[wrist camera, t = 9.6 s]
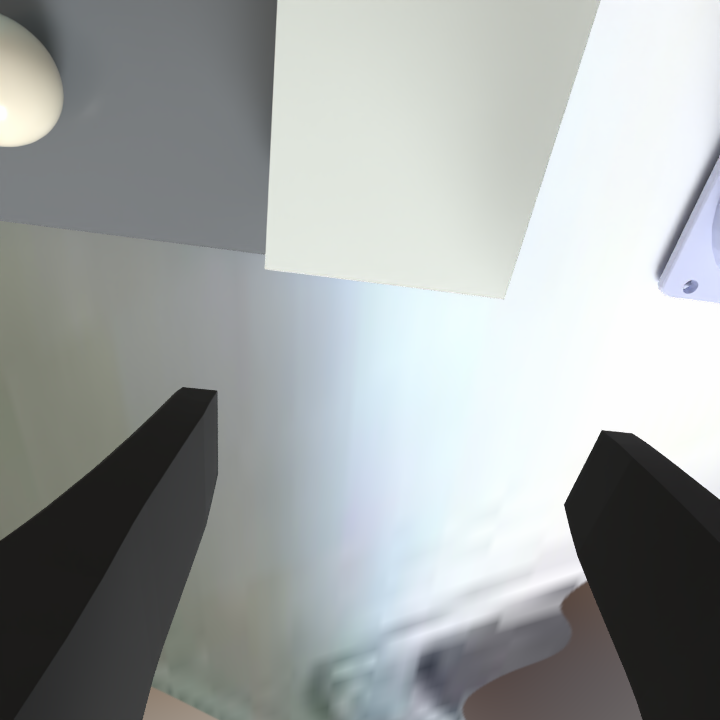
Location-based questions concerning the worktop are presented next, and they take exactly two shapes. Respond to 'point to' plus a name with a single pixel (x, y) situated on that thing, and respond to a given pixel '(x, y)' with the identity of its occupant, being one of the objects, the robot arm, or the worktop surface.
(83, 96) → the board
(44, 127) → the marble
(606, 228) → the worktop surface
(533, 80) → the white box
